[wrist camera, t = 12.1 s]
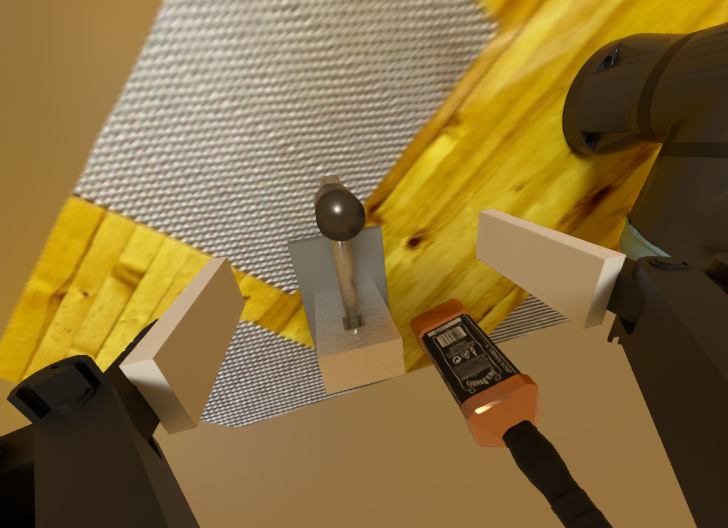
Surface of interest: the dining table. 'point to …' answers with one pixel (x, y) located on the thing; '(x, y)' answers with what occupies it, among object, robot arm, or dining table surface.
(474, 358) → the whiskey bottle
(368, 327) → the block
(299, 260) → the base board
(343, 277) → the crank handle
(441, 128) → the dining table surface
